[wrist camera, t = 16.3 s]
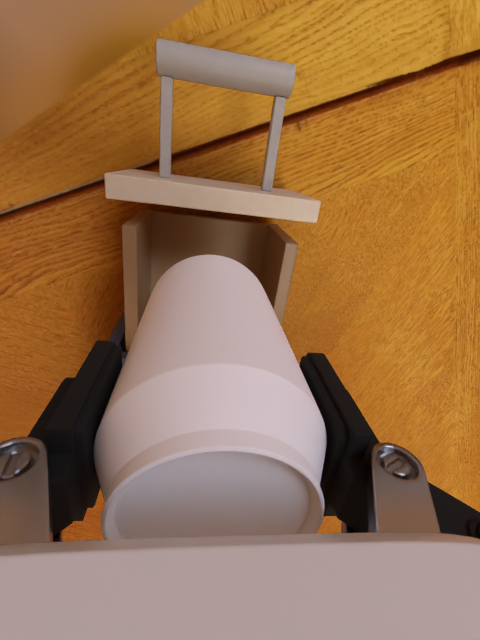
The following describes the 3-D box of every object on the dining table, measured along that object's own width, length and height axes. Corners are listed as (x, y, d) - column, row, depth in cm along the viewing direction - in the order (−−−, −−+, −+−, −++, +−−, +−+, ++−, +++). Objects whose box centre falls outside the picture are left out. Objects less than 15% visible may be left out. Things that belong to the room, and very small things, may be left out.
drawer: (129, 54, 19) (95, 7, 13) (310, 87, 21) (353, 59, 15) (134, 338, 28) (115, 388, 22) (262, 346, 30) (277, 395, 23)
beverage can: (135, 329, 18) (34, 580, 7) (178, 227, 16) (123, 376, 5) (233, 366, 20) (268, 611, 9) (285, 279, 17) (411, 469, 7)
